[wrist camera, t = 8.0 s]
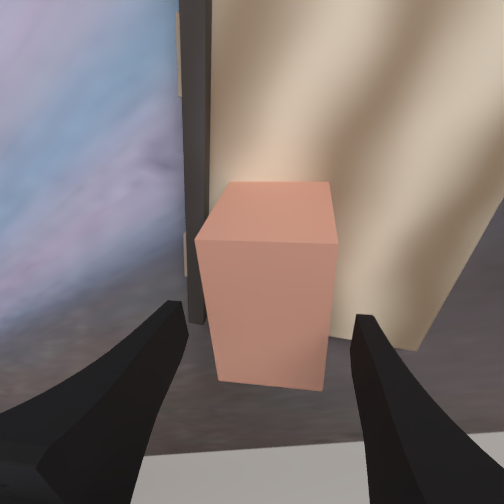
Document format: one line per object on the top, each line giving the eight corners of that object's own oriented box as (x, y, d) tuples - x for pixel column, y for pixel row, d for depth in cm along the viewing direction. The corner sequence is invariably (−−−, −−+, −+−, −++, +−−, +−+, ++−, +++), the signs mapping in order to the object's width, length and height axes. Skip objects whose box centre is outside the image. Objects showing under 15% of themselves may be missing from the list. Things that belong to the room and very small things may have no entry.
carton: (328, 181, 15) (338, 243, 10) (319, 305, 20) (322, 391, 15) (225, 181, 16) (188, 239, 11) (237, 300, 21) (214, 380, 16)
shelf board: (620, -67, 11) (694, -94, 9) (410, 334, 22) (421, 364, 20) (190, -97, 12) (165, -128, 10) (195, 297, 23) (184, 321, 21)
